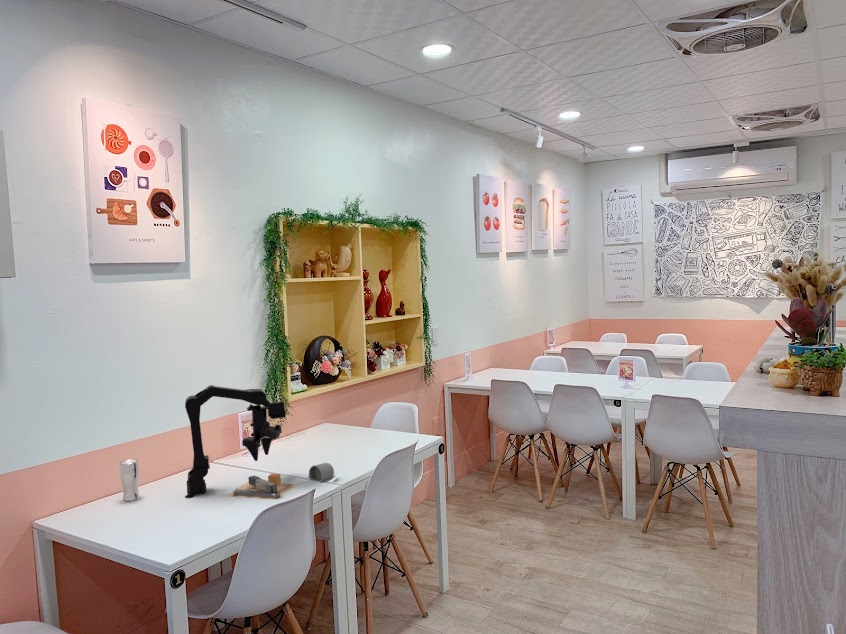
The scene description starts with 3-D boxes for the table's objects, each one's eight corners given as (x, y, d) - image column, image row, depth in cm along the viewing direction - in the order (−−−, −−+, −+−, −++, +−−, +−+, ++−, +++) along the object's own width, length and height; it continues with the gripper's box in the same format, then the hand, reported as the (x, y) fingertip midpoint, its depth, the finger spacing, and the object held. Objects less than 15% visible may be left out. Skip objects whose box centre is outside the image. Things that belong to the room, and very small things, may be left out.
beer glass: (133, 502, 252) (131, 464, 251) (117, 501, 254) (115, 464, 253) (144, 496, 259) (142, 459, 258) (129, 495, 261) (126, 458, 260)
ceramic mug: (335, 480, 272) (334, 462, 272) (321, 485, 266) (320, 467, 265) (317, 476, 278) (316, 458, 278) (303, 481, 272) (302, 463, 271)
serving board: (225, 499, 253) (225, 496, 253) (249, 483, 270) (249, 481, 270) (277, 502, 248) (276, 499, 247) (297, 486, 265) (297, 484, 265)
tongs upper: (276, 491, 252) (275, 483, 252) (270, 492, 250) (270, 485, 250) (254, 482, 263) (254, 475, 263) (248, 484, 261) (248, 476, 261)
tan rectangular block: (268, 485, 264) (268, 475, 263) (272, 483, 267) (271, 473, 266) (277, 486, 263) (277, 476, 262) (280, 483, 266) (280, 474, 265)
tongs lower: (281, 495, 252) (281, 483, 251) (277, 498, 248) (276, 486, 248) (237, 492, 256) (237, 480, 256) (232, 495, 253) (232, 483, 253)
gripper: (265, 426, 254) (267, 465, 255) (288, 415, 271) (289, 452, 273) (240, 425, 257) (242, 464, 258) (264, 414, 274) (266, 451, 276)
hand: (261, 457), depth 266 cm, fingers open, 8 cm apart
